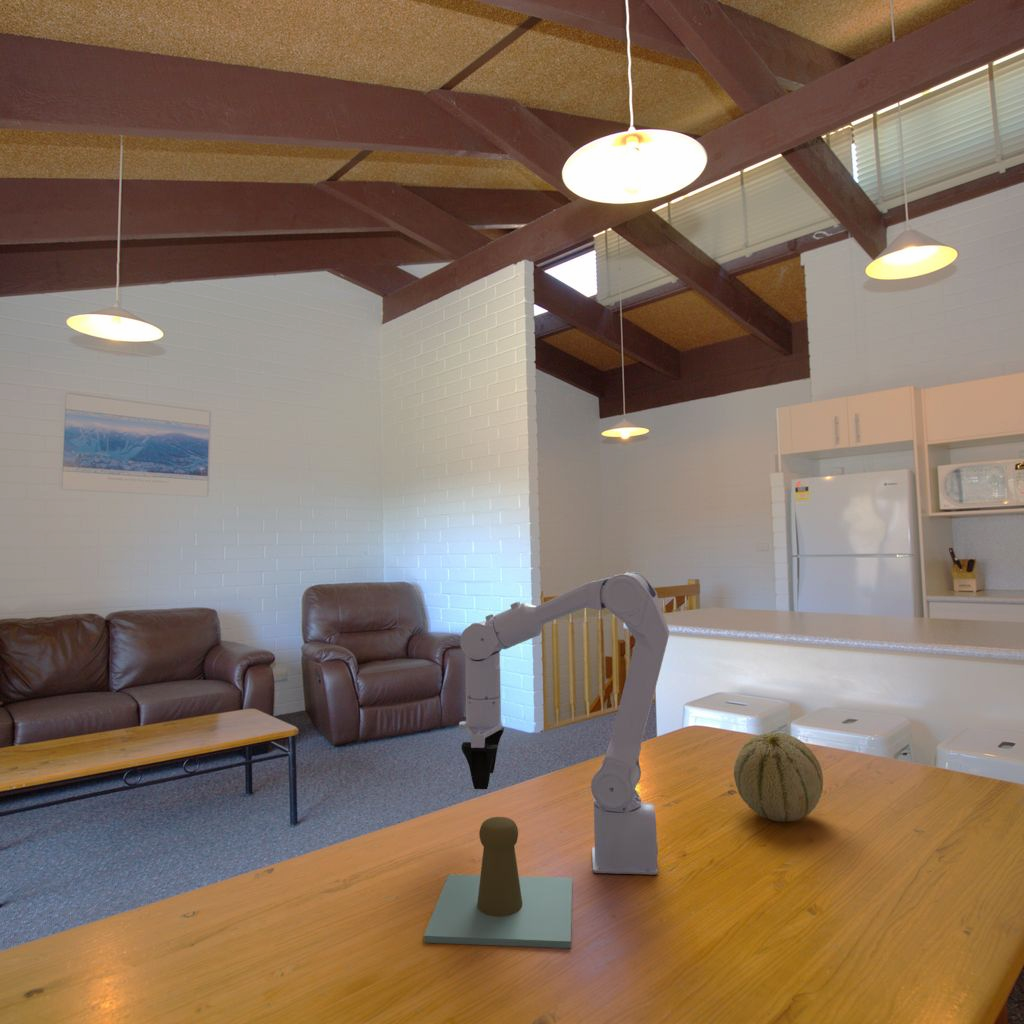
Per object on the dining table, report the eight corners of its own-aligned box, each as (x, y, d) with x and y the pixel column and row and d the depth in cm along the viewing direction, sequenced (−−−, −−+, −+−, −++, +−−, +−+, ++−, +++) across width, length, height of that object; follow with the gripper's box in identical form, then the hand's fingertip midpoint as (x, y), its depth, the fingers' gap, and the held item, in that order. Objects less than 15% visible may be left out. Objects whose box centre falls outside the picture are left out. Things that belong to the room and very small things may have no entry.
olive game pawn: (516, 919, 88) (515, 831, 89) (471, 913, 90) (470, 827, 90) (527, 895, 94) (525, 813, 95) (484, 891, 96) (483, 810, 96)
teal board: (572, 883, 99) (572, 877, 99) (570, 948, 83) (570, 941, 83) (448, 879, 101) (448, 874, 101) (423, 942, 85) (423, 935, 85)
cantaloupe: (808, 803, 128) (805, 721, 129) (838, 836, 113) (834, 744, 114) (727, 801, 129) (724, 720, 130) (745, 834, 115) (742, 742, 115)
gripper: (466, 686, 121) (466, 765, 120) (451, 705, 106) (451, 795, 105) (506, 686, 120) (507, 766, 119) (496, 706, 105) (497, 796, 105)
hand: (484, 780), depth 112 cm, fingers open, 7 cm apart
